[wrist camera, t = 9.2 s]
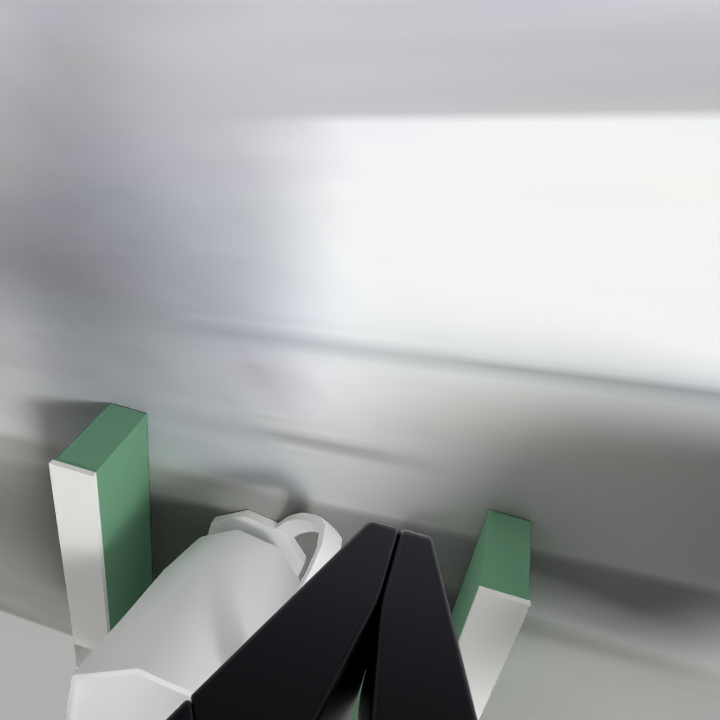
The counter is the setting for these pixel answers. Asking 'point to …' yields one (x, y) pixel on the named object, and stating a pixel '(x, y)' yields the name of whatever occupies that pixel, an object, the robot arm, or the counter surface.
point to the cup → (197, 616)
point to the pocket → (134, 563)
